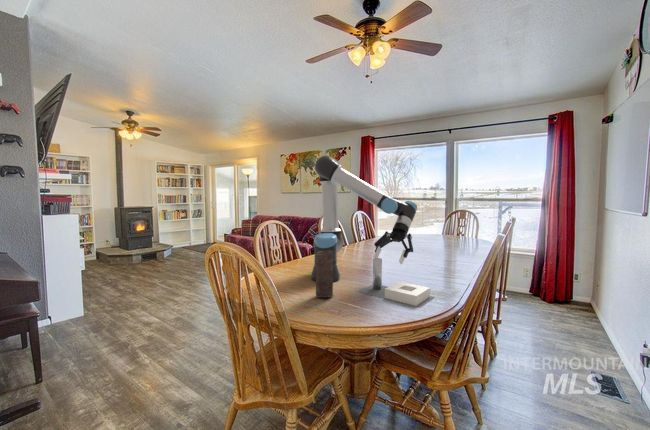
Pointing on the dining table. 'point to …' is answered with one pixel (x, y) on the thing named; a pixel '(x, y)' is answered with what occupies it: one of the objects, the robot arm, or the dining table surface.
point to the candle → (324, 274)
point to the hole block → (407, 293)
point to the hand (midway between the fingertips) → (387, 260)
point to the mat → (381, 294)
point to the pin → (377, 273)
